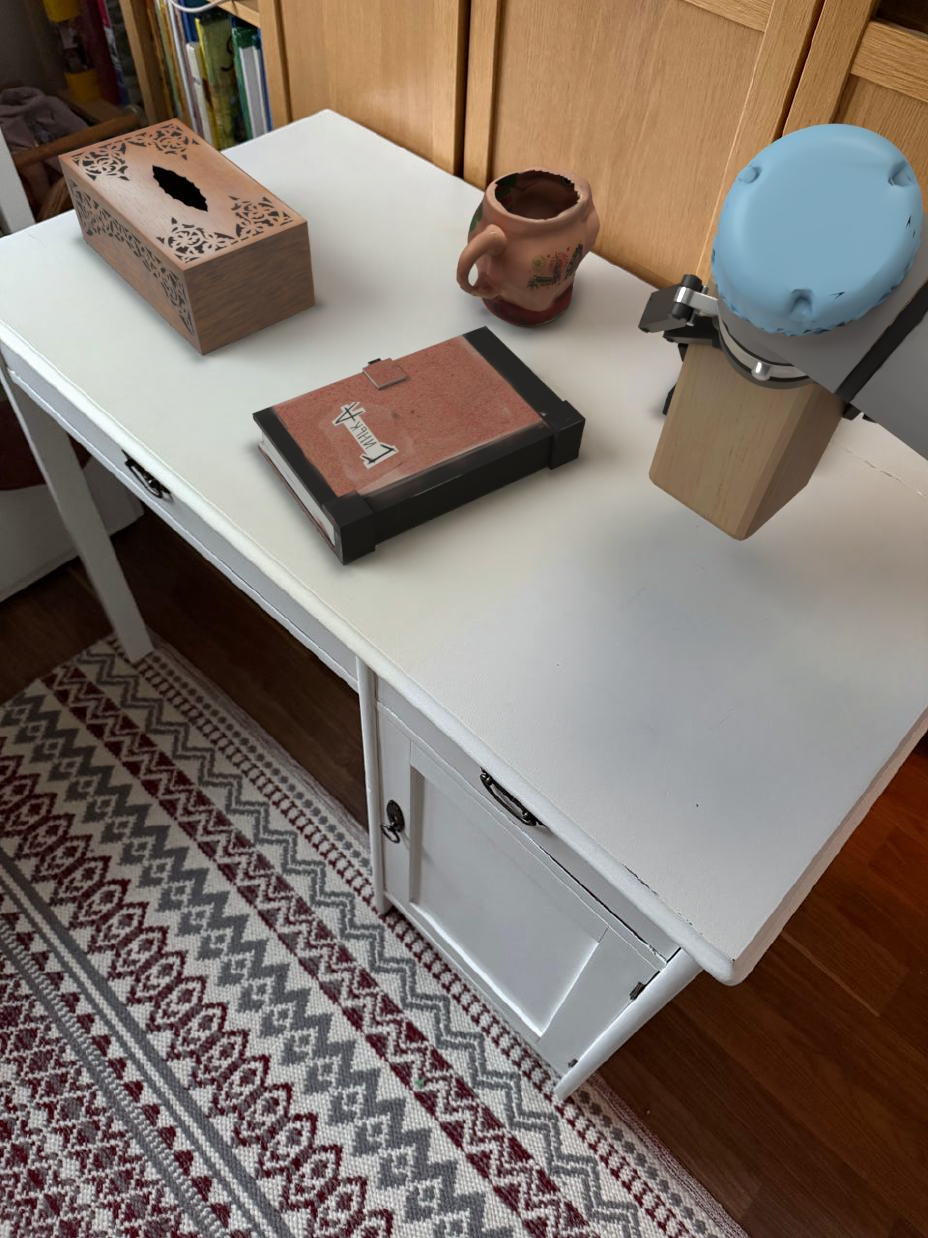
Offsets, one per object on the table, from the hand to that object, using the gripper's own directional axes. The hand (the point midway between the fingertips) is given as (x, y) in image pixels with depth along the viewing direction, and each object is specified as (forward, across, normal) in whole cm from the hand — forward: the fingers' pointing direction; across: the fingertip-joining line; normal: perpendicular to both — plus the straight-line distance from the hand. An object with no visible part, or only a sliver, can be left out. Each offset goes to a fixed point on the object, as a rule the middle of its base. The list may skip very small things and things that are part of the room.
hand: (772, 373), depth 69 cm
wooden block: (+5, 0, -9) cm, 10 cm away
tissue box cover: (+20, -64, -7) cm, 67 cm away
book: (+11, -28, -16) cm, 34 cm away
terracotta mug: (+29, -29, +2) cm, 41 cm away
